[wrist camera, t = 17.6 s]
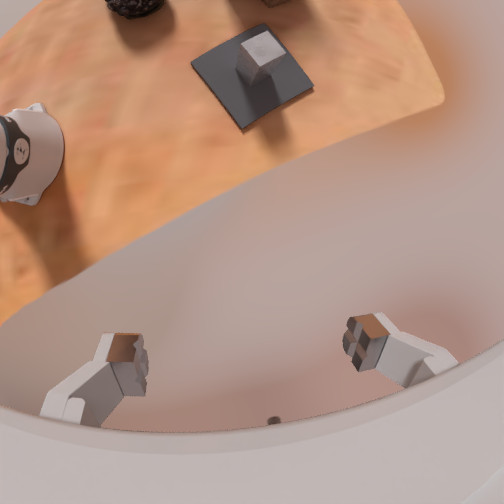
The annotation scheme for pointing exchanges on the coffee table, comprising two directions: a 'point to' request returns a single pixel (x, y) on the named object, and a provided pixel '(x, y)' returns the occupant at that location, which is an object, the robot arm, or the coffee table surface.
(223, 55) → the rubber mat
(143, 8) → the dark porous rock
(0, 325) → the coffee table surface
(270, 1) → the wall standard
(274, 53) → the light gray square block
